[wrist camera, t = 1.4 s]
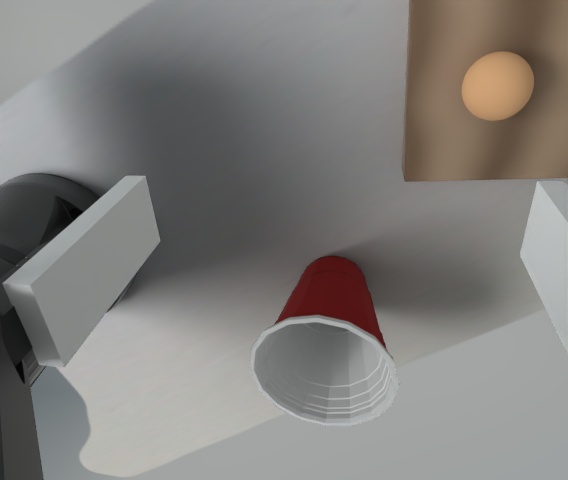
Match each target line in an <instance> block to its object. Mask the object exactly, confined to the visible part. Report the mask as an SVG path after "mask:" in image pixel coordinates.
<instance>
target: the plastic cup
mask: <svg viewBox="0 0 568 480" xmlns="http://www.w3.org/2000/svg"><path fill="white" fill-rule="evenodd" d="M250 371H251V373H252V376H253V378H254V380H255V382H256V385H257V387H258V389H259V390H260V391H261V392H262V393H263V394H264V395H265V396H266V397H267V398H268V399H269V400H270V401H271V402H272V403H273V404H274V405H275V406H276V407H278V408H280V409H282V410H283V411H285V412H287V413H289V414H291V415H293V416H294V417H296V418H298V419H301V420H305V421H309V422H313V423H316V424H320V425H324V426H353V425H357V424H360V423H363V422H366V421H369V420H372V419H375V418H377V417H378V416H379V415H381V414H382V413H383V412H384V411H385V410H386V409H387V408H389V407H390V406H391V405H392V404H393V402H394V399H395V396H396V393H397V390H398V387H399V380H398V376H397V372H396V368H395V364H394V360H393V357H392V356H391V355H390V354H389V352H388V351H387V349H386V346H385V343H384V340H383V336H382V333H381V332H380V329H379V326H378V322H377V318H376V314H375V310H374V306H373V303H372V299H371V295H370V292H369V291H368V288H367V285H366V281H365V277H364V275H363V274H362V271H361V270H360V269H359V268H358V267H357V266H356V264H355V263H353V262H351V261H349V260H347V259H345V258H342V257H336V256H329V257H323V258H319V259H318V260H316V261H314V262H312V263H311V264H310V265H309V266H308V267H307V269H306V270H305V271H304V273H303V274H302V276H301V278H300V280H299V282H298V284H297V286H296V287H295V289H294V290H293V292H292V294H291V296H290V297H289V299H288V301H287V303H286V305H285V307H284V309H283V311H282V312H281V314H280V316H279V318H278V320H277V321H276V323H275V324H274V325H273V326H271V327H269V328H267V329H266V330H265V331H264V332H263V333H262V335H261V336H260V337H259V339H258V340H257V341H256V343H255V344H254V345H253V347H252V348H251V356H250Z"/></svg>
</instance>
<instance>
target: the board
mask: <svg viewBox="0 0 568 480" xmlns="http://www.w3.org/2000/svg"><path fill="white" fill-rule="evenodd" d="M500 51H506V52H511V53H515V54H517V55H519V56H521V57H522V58H523V59H524V60H525V61H527V63H528V64H529V65H530V67H531V69H532V72H533V76H534V87H533V92H532V94H531V97H530V99H529V101H528V102H527V103H526V105H525V106H524V107H523V108H522V109H521V110H520V111H519V112H517V113H516V114H514V115H513V116H511V117H509V118H506V119H503V120H497V121H489V120H484V119H481V118H478V117H476V116H475V115H473V114H472V113H471V112H470V111H469V110H468V109H467V107H466V106H465V104H464V101H463V98H462V83H463V79H464V77H465V75H466V73H467V71H468V70H469V68H470V67H471V66H472V65H473V64H474V63H475V62H476V61H477V60H478V59H480V58H481V57H483V56H485V55H487V54H490V53H494V52H500ZM402 170H403V175H404V180H405V181H448V180H491V179H534V178H568V0H409V23H408V46H407V69H406V93H405V116H404V140H403V163H402Z"/></svg>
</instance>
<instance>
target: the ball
mask: <svg viewBox="0 0 568 480" xmlns="http://www.w3.org/2000/svg"><path fill="white" fill-rule="evenodd" d="M533 87H534V76H533V72H532V69H531V67H530V65H529V64H528V63H527V61H525V60H524V59H523V58H522V57H521V56H519V55H517V54H515V53H511V52H506V51H500V52H494V53H490V54H487V55H485V56H483V57H481V58H480V59H478V60H477V61H476V62H475V63H474V64H473V65H472V66H471V67H470V68H469V70H468V71H467V73H466V75H465V77H464V79H463V83H462V98H463V101H464V104H465V106H466V107H467V109H468V110H469V111H470V112H471V113H472V114H473V115H475V116H476V117H478V118H481V119H484V120H489V121H497V120H503V119H506V118H509V117H511V116H513V115H514V114H516V113H517V112H519V111H520V110H521V109H522V108H523V107H524V106H525V105H526V103H527V102H528V101H529V99H530V97H531V94H532V92H533Z"/></svg>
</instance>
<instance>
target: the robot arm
mask: <svg viewBox="0 0 568 480" xmlns="http://www.w3.org/2000/svg"><path fill="white" fill-rule="evenodd" d="M159 242H160V237H159V232H158V228H157V223H156V219H155V215H154V210H153V206H152V202H151V197H150V193H149V188H148V184H147V180H146V176H125V177H124V178H123V179H121V180H120V181H119V182H118V183H117V184H116V185H115V186H113V187H112V188H111V189H110V190H109V191H108V192H107V193H105V194H104V195H103V196H102V197H101V198H99V197H98V196H96V195H95V194H94V193H92V192H91V191H89V190H88V189H86V188H84V187H82V186H80V185H78V184H76V183H74V182H72V181H69V180H67V179H64V178H60V177H57V176H52V175H46V174H28V175H22V176H18V177H15V178H13V179H10V180H8V181H7V182H5V183H4V184H2V185H0V480H44V479H43V473H42V465H41V459H40V452H39V445H38V438H37V431H36V425H35V417H34V410H33V403H32V396H31V389H30V387H31V386H32V385H33V383H34V382H35V381H36V379H37V378H38V377H39V375H40V374H41V373H42V371H43V370H44V369H45V367H46V366H57V367H65V366H66V365H67V363H68V362H69V361H70V360H71V358H72V357H73V356H74V354H75V353H76V352H77V350H78V349H79V348H80V346H81V345H82V344H83V342H84V341H85V340H86V338H87V337H88V336H89V335H90V333H91V332H92V331H93V329H94V328H95V327H96V325H97V324H98V323H99V321H100V320H101V319H102V317H103V316H104V315H105V313H107V312H108V311H110V310H111V309H112V308H113V307H115V306H116V305H117V304H118V303H119V301H120V300H121V299H122V297H123V296H124V295H125V293H126V292H127V290H128V289H129V288H130V286H131V284H132V283H133V280H134V278H135V274H136V273H137V271H138V270H139V269H140V267H141V266H142V265H143V263H144V262H145V261H146V260H147V258H148V257H149V256H150V254H151V253H152V252H153V250H154V249H155V248H156V246H157V245H158V244H159ZM520 257H521V259H522V261H523V263H524V265H525V267H526V269H527V271H528V273H529V276H530V278H531V280H532V282H533V284H534V286H535V288H536V290H537V292H538V294H539V296H540V298H541V300H542V303H543V305H544V307H545V309H546V311H547V313H548V315H549V317H550V319H551V321H552V323H553V325H554V327H555V330H556V331H557V334H558V335H559V338H560V340H561V342H562V344H563V346H564V348H565V350H566V352H567V354H568V185H567V184H566V183H565V182H564V181H537V185H536V189H535V193H534V197H533V201H532V206H531V210H530V214H529V218H528V222H527V226H526V231H525V235H524V239H523V243H522V247H521V251H520Z"/></svg>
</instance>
